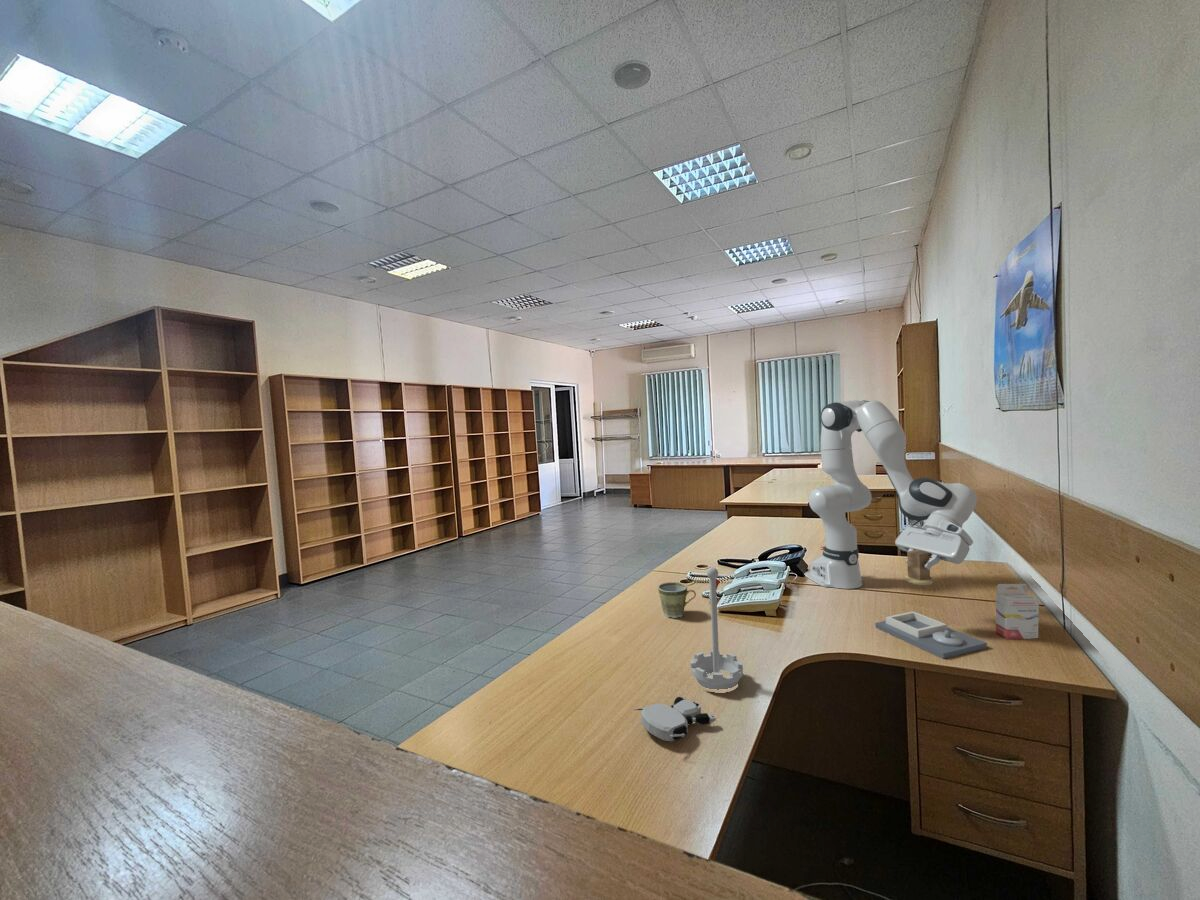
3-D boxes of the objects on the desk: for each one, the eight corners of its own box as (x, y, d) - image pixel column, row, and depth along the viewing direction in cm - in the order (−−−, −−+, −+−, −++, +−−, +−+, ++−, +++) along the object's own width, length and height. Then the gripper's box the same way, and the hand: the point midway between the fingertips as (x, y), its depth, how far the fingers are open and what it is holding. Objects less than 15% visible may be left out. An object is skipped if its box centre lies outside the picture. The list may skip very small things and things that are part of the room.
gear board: (875, 627, 153) (875, 614, 153) (915, 618, 158) (914, 605, 158) (943, 659, 132) (943, 643, 132) (986, 648, 137) (986, 632, 137)
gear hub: (899, 579, 152) (899, 551, 151) (917, 576, 154) (916, 548, 154) (921, 586, 145) (920, 556, 145) (938, 582, 147) (937, 553, 147)
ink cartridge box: (1007, 639, 141) (1007, 589, 140) (995, 632, 146) (994, 583, 145) (1039, 639, 140) (1039, 588, 139) (1026, 632, 145) (1026, 582, 144)
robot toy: (680, 707, 118) (631, 726, 110) (681, 688, 118) (631, 706, 110) (719, 732, 108) (668, 755, 100) (719, 711, 108) (668, 733, 100)
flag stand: (734, 701, 118) (729, 578, 116) (683, 688, 125) (678, 571, 123) (749, 675, 129) (745, 563, 127) (701, 665, 136) (697, 558, 134)
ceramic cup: (656, 619, 169) (654, 590, 168) (663, 608, 178) (662, 581, 177) (693, 623, 164) (692, 593, 163) (699, 611, 173) (698, 583, 172)
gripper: (904, 518, 161) (881, 551, 158) (967, 529, 141) (943, 568, 139) (915, 530, 162) (892, 563, 160) (979, 543, 143) (955, 581, 140)
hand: (916, 565), depth 149 cm, fingers closed on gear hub, 4 cm apart
